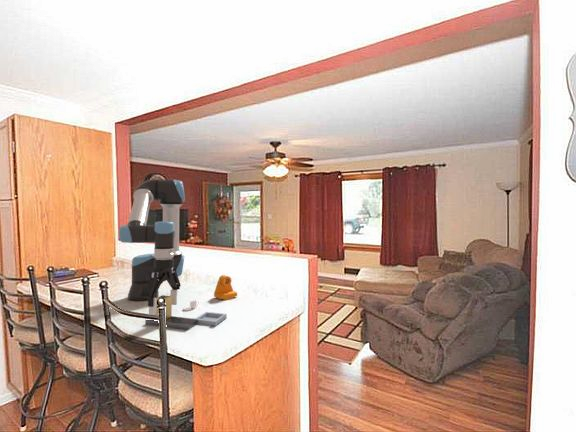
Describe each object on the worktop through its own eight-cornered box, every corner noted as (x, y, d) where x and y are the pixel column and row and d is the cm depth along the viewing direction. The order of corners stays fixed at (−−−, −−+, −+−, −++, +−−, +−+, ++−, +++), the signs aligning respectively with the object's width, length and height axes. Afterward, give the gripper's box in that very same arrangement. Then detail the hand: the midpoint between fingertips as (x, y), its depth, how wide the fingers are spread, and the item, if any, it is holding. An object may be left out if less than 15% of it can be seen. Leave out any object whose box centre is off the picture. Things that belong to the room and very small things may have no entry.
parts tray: (194, 323, 127) (194, 319, 127) (206, 316, 137) (206, 311, 137) (215, 326, 125) (215, 321, 125) (226, 318, 134) (226, 314, 134)
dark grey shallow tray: (145, 325, 125) (145, 319, 125) (156, 319, 131) (156, 314, 131) (188, 331, 120) (188, 324, 120) (197, 324, 126) (197, 318, 126)
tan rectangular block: (155, 324, 125) (155, 297, 125) (162, 320, 129) (162, 295, 129) (164, 325, 124) (164, 298, 124) (171, 322, 128) (171, 295, 128)
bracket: (220, 301, 161) (220, 278, 161) (214, 297, 166) (214, 276, 166) (237, 297, 168) (238, 276, 168) (231, 294, 174) (231, 273, 173)
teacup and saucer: (183, 313, 141) (183, 304, 141) (182, 308, 149) (182, 300, 149) (202, 311, 145) (202, 303, 145) (200, 306, 152) (200, 298, 152)
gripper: (151, 263, 113) (150, 319, 113) (189, 255, 137) (188, 301, 137) (134, 262, 115) (133, 318, 115) (174, 254, 139) (174, 300, 139)
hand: (163, 309), depth 126 cm, fingers open, 13 cm apart
